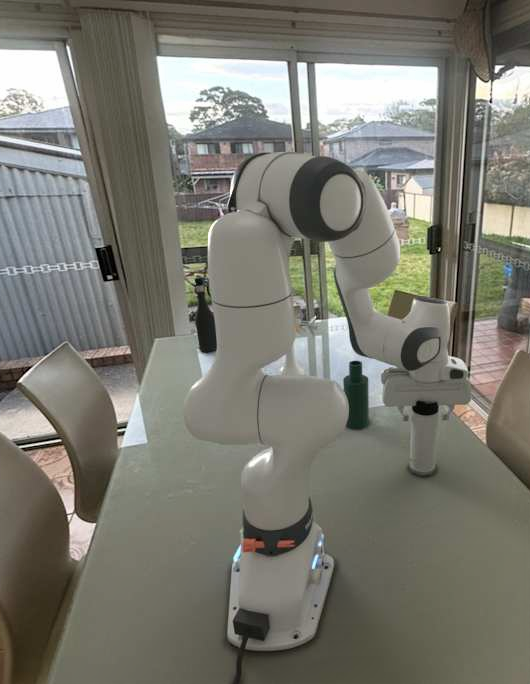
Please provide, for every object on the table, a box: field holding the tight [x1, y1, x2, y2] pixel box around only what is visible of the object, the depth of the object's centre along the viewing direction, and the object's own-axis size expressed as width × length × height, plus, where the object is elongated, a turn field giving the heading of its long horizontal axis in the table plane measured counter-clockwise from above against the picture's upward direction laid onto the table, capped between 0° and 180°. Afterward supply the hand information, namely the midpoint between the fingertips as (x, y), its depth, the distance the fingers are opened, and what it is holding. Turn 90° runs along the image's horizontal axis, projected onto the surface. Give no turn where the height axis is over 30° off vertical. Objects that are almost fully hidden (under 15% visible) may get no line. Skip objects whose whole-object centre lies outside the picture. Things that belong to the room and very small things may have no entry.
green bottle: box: [342, 360, 370, 430], centre depth 125 cm, size 7×7×19 cm
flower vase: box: [277, 312, 319, 375], centre depth 150 cm, size 13×18×25 cm
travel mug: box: [409, 401, 440, 477], centre depth 105 cm, size 6×7×20 cm
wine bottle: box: [194, 276, 217, 353], centre depth 177 cm, size 8×8×30 cm
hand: (424, 419), depth 104 cm, fingers open, 8 cm apart
